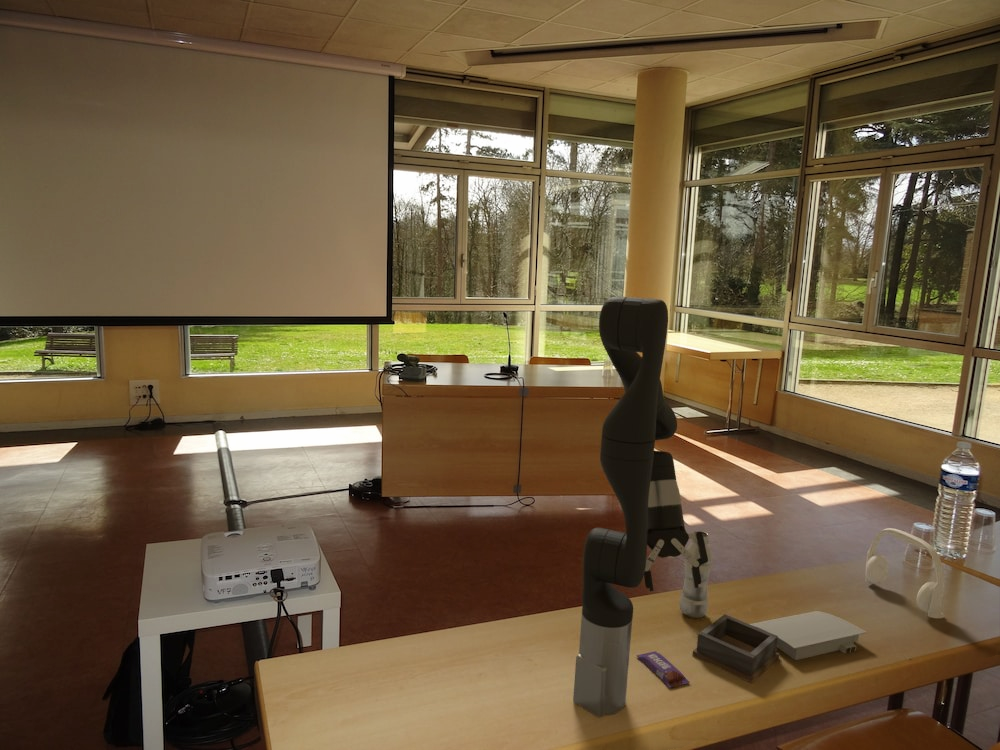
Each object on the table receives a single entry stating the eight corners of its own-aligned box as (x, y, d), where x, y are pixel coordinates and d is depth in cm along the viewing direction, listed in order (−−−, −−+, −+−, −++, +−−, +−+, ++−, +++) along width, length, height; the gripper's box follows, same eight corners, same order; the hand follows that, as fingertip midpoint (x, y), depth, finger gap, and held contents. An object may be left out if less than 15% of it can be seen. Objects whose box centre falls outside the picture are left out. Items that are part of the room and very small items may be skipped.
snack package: (636, 651, 146) (656, 646, 148) (635, 659, 146) (655, 655, 148) (670, 683, 135) (691, 678, 137) (669, 692, 136) (690, 687, 138)
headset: (856, 584, 183) (865, 520, 180) (876, 581, 186) (886, 517, 183) (925, 623, 165) (936, 552, 162) (946, 619, 167) (958, 549, 164)
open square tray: (751, 683, 139) (754, 660, 138) (692, 655, 147) (694, 633, 147) (778, 657, 148) (781, 636, 147) (721, 632, 157) (723, 612, 156)
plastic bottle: (703, 608, 167) (712, 529, 164) (709, 623, 161) (718, 541, 157) (676, 605, 168) (684, 527, 164) (680, 620, 161) (688, 538, 158)
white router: (875, 651, 153) (877, 635, 152) (793, 670, 144) (796, 653, 144) (819, 616, 167) (822, 601, 166) (742, 632, 158) (744, 616, 158)
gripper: (625, 507, 137) (636, 593, 133) (700, 500, 135) (713, 587, 131) (626, 508, 144) (636, 590, 140) (696, 501, 142) (709, 584, 138)
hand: (674, 589), depth 136 cm, fingers open, 8 cm apart
